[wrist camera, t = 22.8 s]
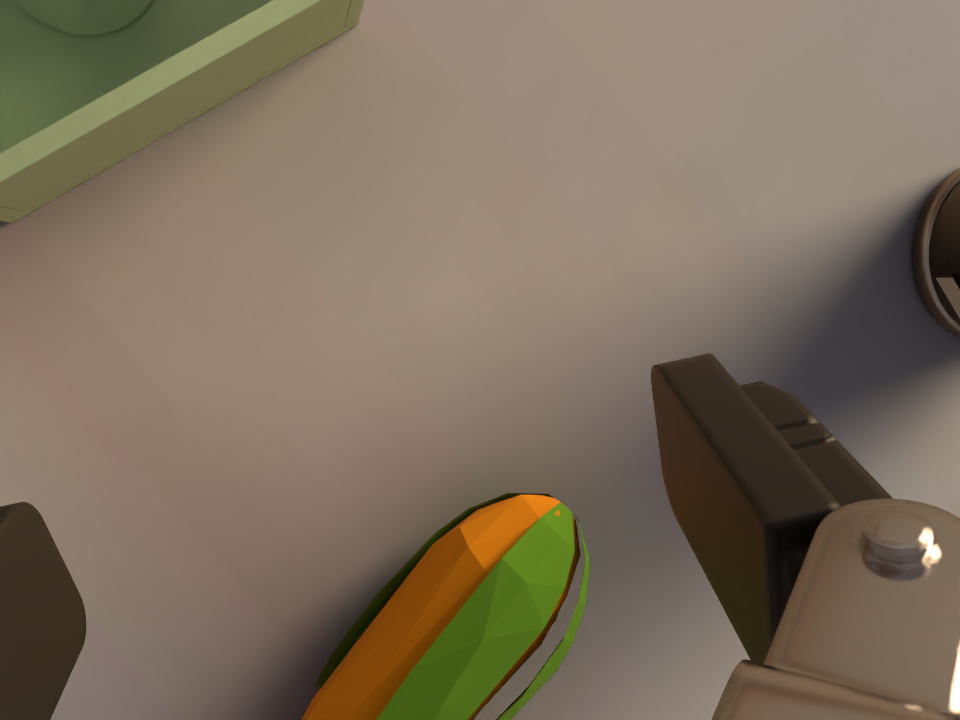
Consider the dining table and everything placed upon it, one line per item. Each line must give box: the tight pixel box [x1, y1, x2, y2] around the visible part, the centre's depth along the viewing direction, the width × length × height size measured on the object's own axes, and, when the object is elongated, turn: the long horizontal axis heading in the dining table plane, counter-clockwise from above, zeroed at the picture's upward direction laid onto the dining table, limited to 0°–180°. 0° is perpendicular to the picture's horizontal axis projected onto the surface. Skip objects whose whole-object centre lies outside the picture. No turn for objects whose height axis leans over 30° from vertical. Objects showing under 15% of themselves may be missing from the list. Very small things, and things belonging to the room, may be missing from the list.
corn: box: [302, 493, 590, 720], centre depth 37 cm, size 7×8×20 cm
